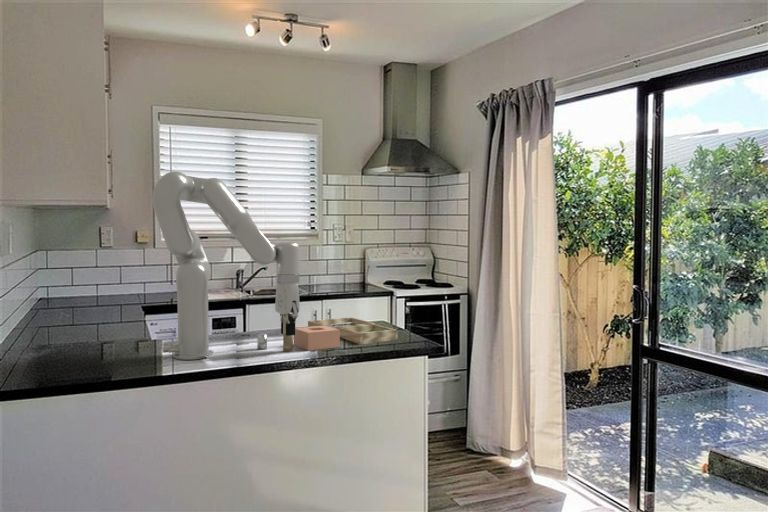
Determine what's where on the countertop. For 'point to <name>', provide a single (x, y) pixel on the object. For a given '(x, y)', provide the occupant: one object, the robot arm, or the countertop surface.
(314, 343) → the hole block
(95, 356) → the countertop surface
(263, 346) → the short pin
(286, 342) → the long pin
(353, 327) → the organiser frame
